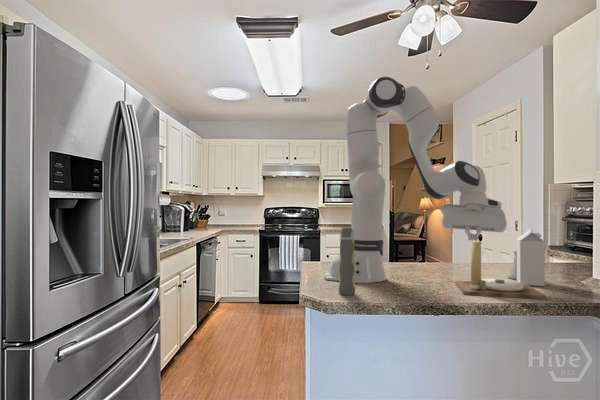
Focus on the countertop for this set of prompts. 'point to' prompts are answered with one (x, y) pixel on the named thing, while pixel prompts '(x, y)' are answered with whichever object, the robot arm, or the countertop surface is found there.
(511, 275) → the flask
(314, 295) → the countertop surface
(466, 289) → the base board
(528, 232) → the milk carton
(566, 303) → the countertop surface
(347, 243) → the grey upright post
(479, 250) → the white and beige stand
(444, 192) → the robot arm
